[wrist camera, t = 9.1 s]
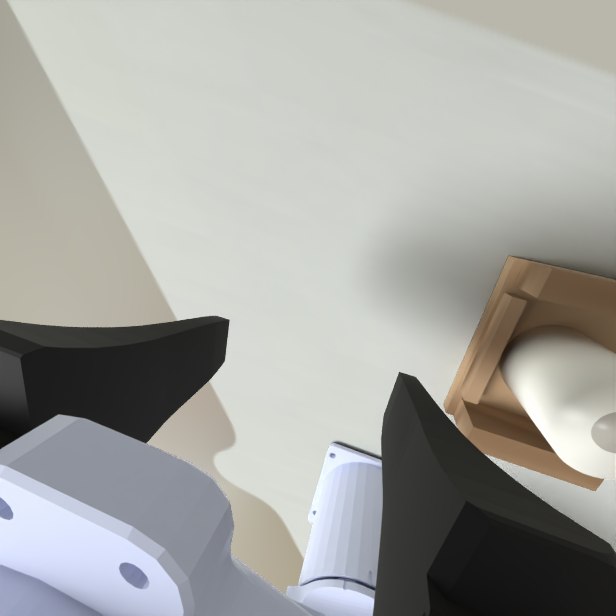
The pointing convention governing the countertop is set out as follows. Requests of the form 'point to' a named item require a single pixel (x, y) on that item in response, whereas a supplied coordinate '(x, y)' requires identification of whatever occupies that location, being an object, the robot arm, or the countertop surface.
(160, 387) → the robot arm
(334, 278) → the countertop surface
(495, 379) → the holder
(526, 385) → the paper roll
